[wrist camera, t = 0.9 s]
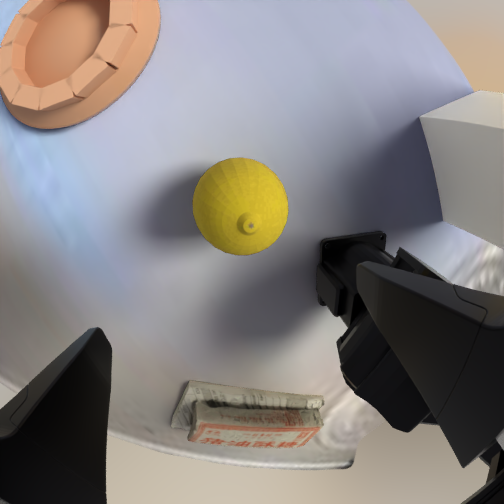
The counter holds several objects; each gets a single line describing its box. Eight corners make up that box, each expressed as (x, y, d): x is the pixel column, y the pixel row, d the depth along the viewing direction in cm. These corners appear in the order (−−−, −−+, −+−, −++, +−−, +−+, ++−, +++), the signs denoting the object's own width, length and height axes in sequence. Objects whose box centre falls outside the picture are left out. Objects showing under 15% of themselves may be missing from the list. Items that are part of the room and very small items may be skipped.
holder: (161, -45, 11) (158, -64, 8) (165, 102, 17) (159, 97, 14) (12, 10, 9) (-5, 2, 6) (8, 150, 15) (-12, 155, 12)
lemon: (274, 217, 22) (312, 264, 15) (203, 233, 21) (206, 290, 14) (262, 146, 19) (300, 156, 12) (186, 162, 19) (177, 182, 12)
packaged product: (337, 419, 29) (297, 456, 32) (324, 391, 33) (289, 430, 36) (189, 411, 23) (169, 450, 27) (188, 375, 28) (169, 419, 31)
